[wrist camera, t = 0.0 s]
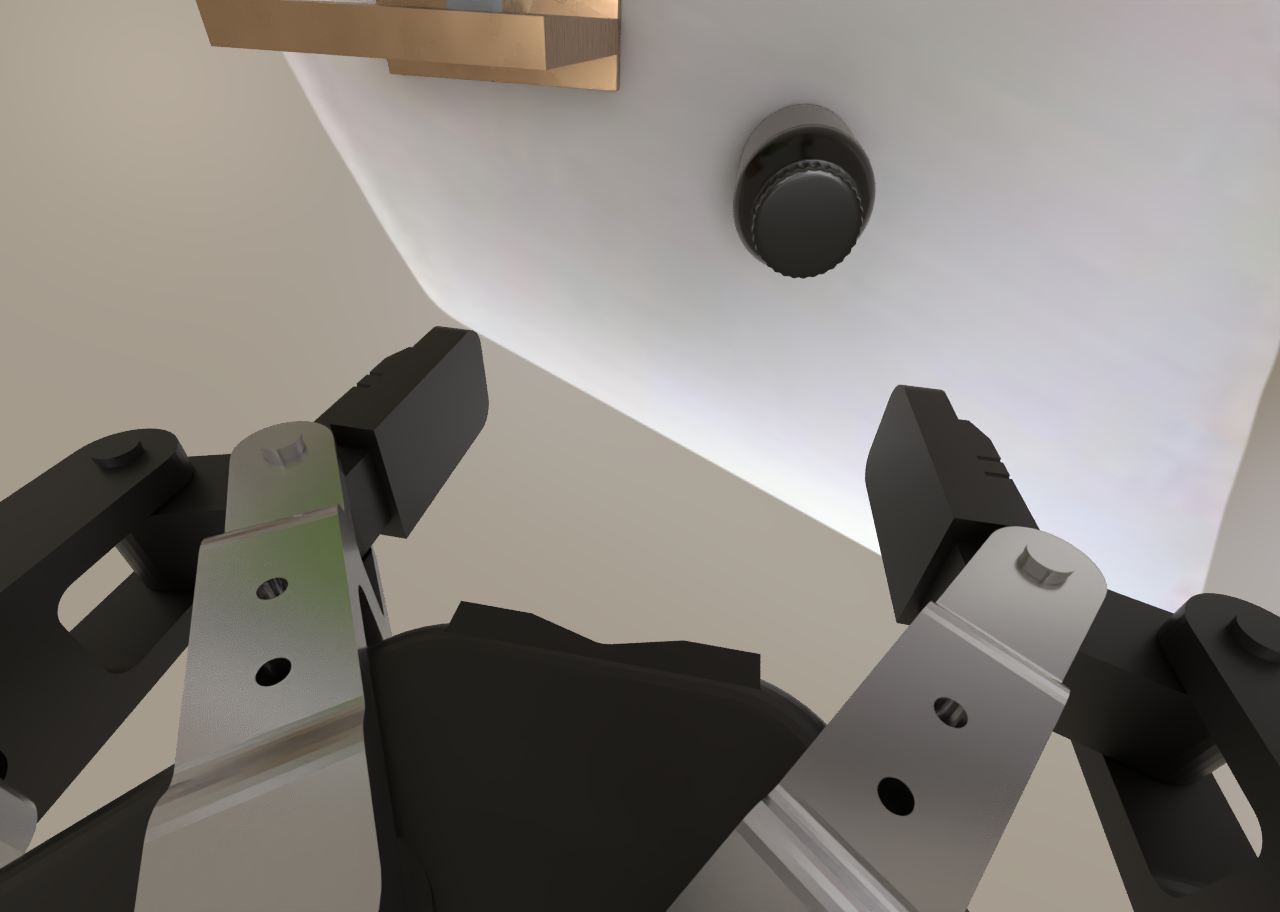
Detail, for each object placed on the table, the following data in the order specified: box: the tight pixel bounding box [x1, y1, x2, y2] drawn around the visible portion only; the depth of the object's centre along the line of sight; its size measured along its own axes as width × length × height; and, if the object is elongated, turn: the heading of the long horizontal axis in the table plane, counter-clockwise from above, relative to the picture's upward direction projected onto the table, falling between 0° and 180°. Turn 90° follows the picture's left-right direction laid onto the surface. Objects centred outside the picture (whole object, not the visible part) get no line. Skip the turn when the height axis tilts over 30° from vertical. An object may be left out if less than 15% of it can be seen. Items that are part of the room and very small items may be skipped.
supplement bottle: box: [733, 104, 875, 279], centre depth 29 cm, size 7×7×12 cm
